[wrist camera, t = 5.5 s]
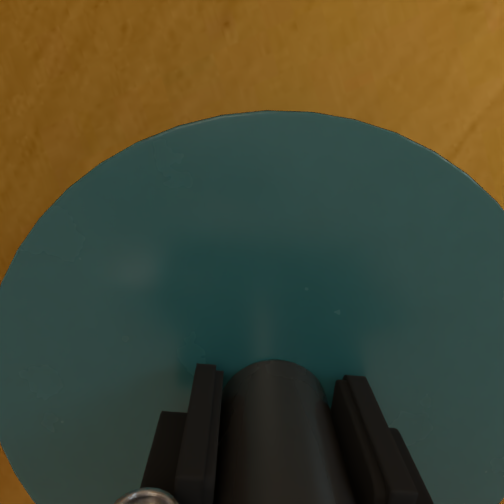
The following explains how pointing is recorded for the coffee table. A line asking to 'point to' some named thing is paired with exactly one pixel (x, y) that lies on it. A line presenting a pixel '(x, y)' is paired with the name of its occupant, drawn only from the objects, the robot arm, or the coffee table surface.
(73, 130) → the coffee table surface
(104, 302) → the lid
